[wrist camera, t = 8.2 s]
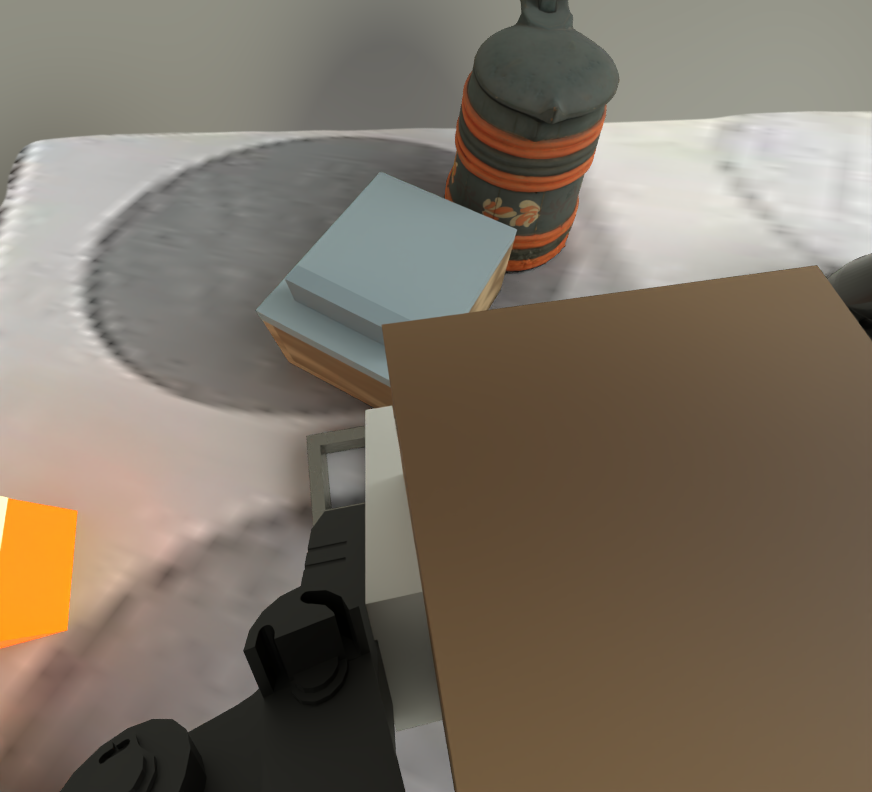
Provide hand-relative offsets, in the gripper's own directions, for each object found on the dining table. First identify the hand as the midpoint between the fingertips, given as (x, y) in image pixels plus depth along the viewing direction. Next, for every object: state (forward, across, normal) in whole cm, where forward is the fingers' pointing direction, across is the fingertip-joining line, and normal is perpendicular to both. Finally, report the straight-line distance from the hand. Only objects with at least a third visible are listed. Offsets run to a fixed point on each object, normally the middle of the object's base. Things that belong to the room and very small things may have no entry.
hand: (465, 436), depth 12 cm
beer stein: (+40, +15, +7) cm, 43 cm away
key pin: (+3, 0, -8) cm, 9 cm away
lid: (+25, 0, +3) cm, 25 cm away
